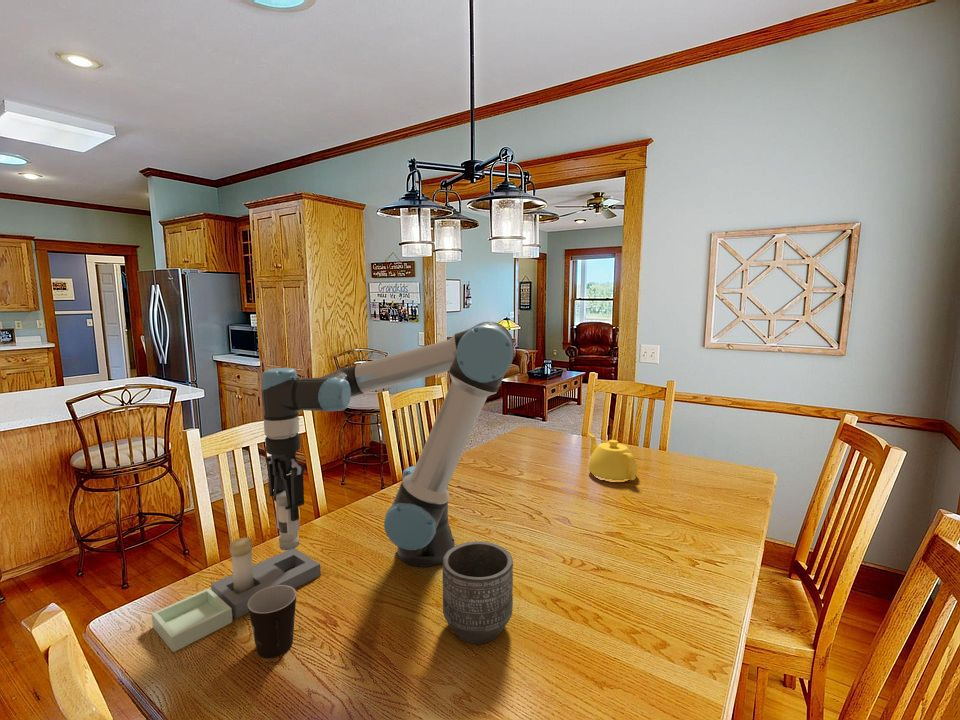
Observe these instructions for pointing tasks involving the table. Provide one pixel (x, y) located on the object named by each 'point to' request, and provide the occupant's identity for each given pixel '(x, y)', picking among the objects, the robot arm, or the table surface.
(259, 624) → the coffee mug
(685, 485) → the table surface
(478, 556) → the planter
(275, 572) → the grey socket holder
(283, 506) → the cylinder
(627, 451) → the teapot
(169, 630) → the parts tray
